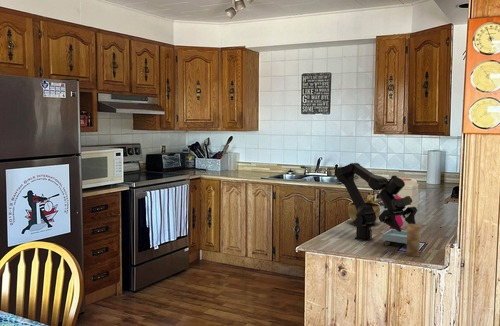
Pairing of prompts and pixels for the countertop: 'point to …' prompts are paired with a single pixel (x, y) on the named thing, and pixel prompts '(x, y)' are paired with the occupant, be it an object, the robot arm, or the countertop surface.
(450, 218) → the countertop surface
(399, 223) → the pepper mill
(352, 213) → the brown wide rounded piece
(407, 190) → the cream watering can
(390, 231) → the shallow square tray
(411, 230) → the walnut post
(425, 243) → the countertop surface
